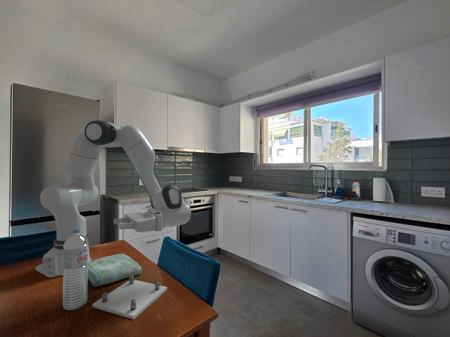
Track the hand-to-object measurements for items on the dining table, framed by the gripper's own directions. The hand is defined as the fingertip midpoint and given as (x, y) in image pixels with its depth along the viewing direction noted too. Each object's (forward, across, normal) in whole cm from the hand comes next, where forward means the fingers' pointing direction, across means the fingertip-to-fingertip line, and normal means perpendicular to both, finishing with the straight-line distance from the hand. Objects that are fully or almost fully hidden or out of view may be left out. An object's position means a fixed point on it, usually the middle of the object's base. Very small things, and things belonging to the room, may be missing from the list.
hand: (116, 224), depth 79 cm
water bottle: (+12, 0, +25) cm, 28 cm away
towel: (-2, -18, +26) cm, 31 cm away
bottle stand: (-4, +7, +25) cm, 26 cm away
